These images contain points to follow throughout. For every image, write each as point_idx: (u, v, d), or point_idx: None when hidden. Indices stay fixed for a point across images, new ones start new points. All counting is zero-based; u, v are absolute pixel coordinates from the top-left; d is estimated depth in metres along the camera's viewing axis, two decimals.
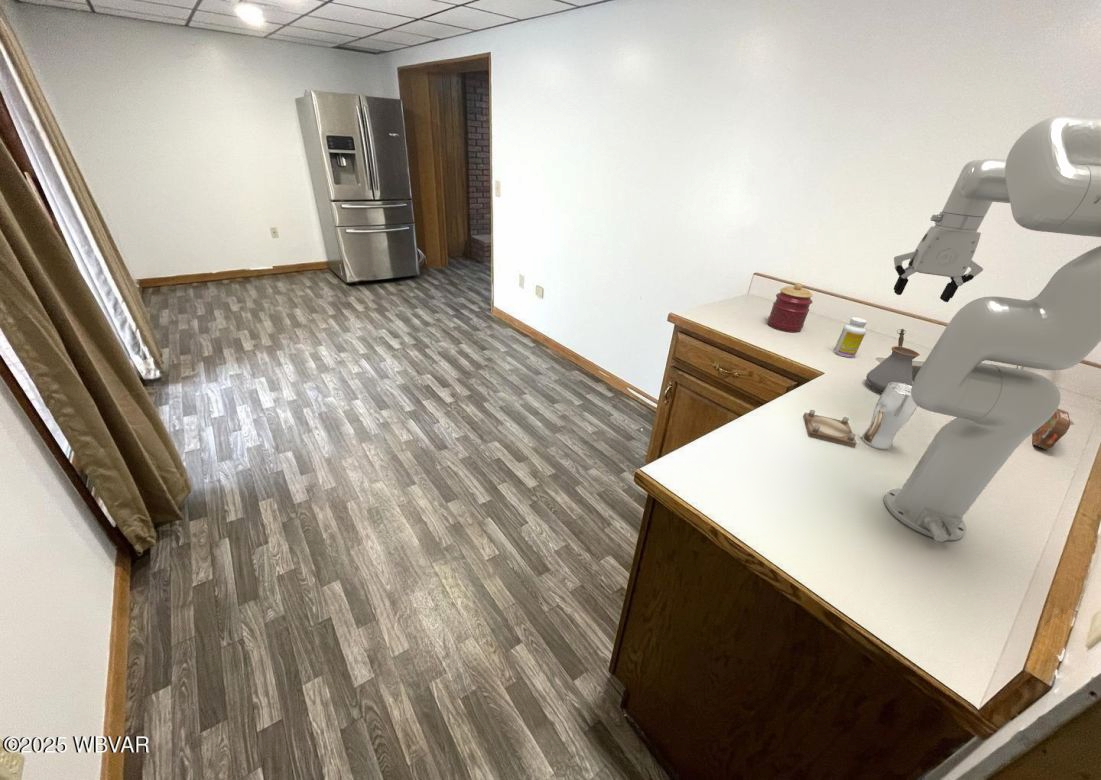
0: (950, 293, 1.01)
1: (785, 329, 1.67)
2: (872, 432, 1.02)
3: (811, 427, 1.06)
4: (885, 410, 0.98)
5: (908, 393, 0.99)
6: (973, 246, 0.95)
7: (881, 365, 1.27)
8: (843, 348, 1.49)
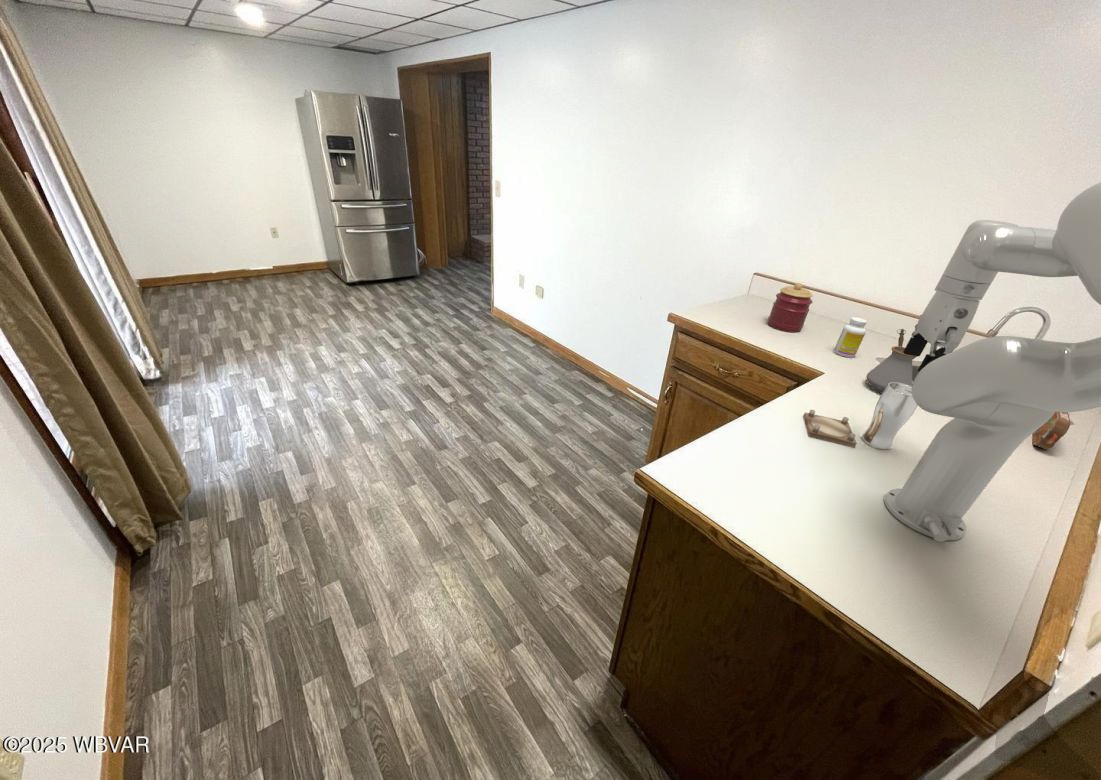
0: (923, 348, 0.96)
1: (785, 329, 1.67)
2: (872, 432, 1.02)
3: (811, 427, 1.06)
4: (885, 410, 0.98)
5: (908, 393, 0.99)
6: None
7: (881, 365, 1.27)
8: (843, 348, 1.49)
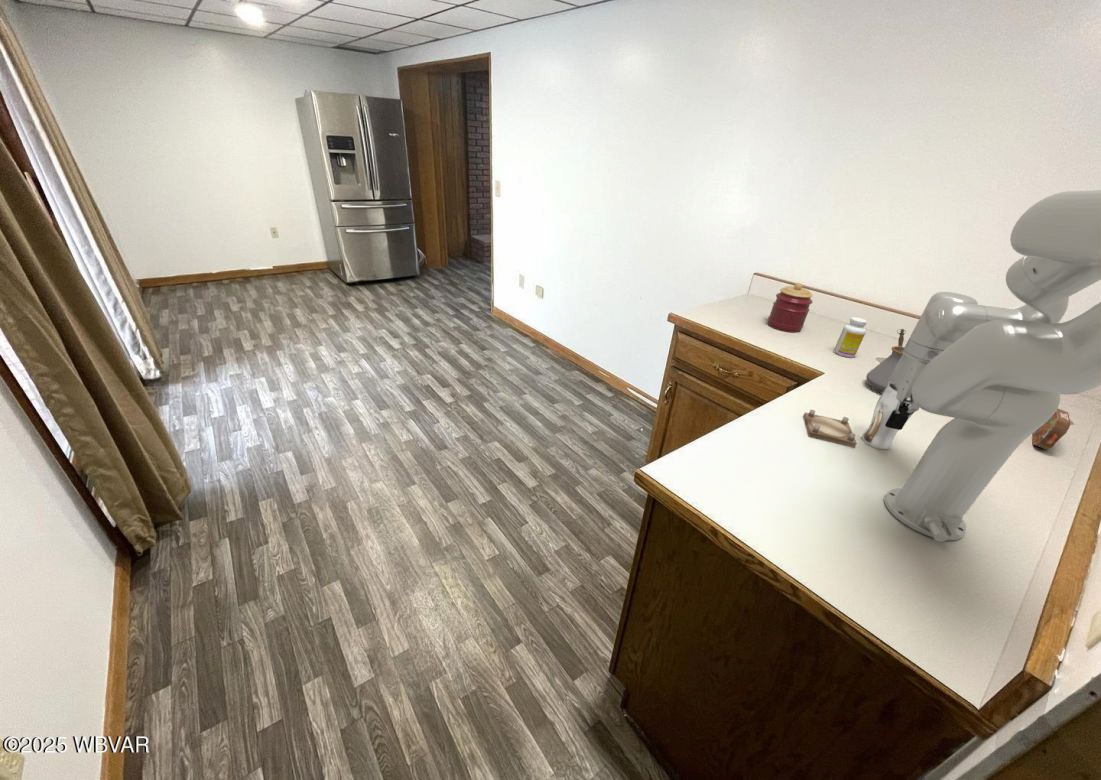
0: None
1: (785, 329, 1.67)
2: (872, 432, 1.02)
3: (811, 427, 1.06)
4: (885, 410, 0.98)
5: None
6: None
7: (881, 365, 1.27)
8: (843, 348, 1.49)
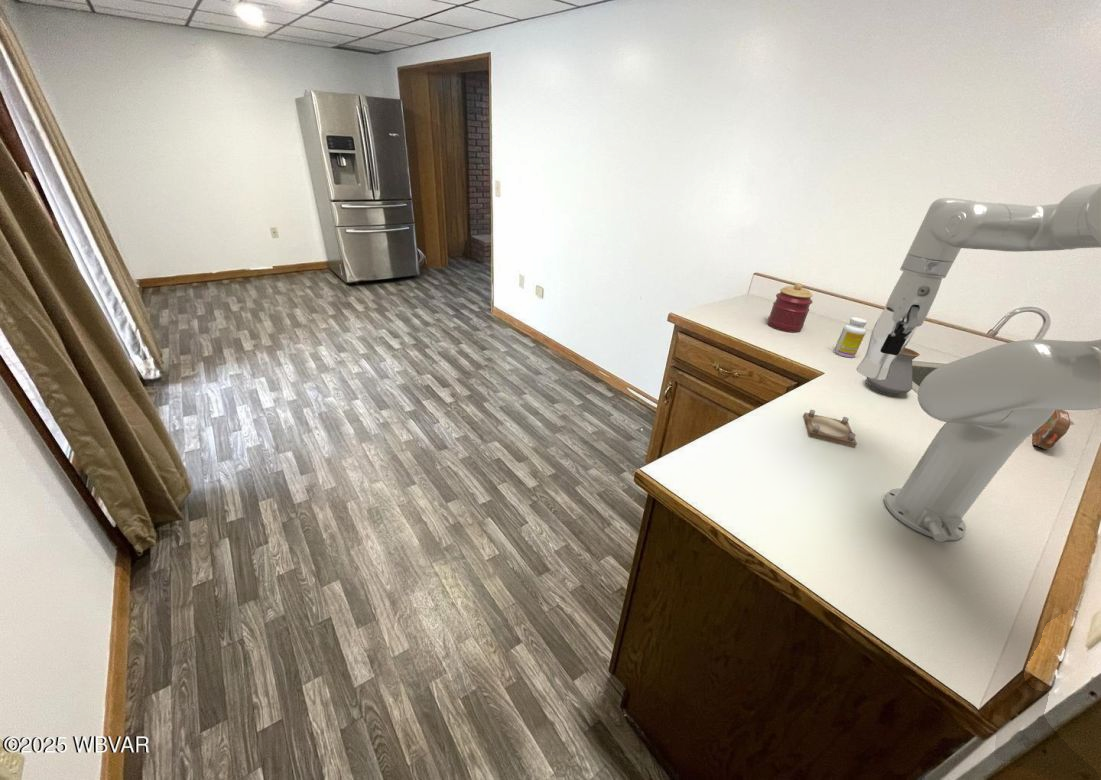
0: None
1: (785, 329, 1.67)
2: (867, 362, 0.96)
3: (811, 427, 1.06)
4: (881, 334, 0.92)
5: None
6: None
7: None
8: (843, 348, 1.49)
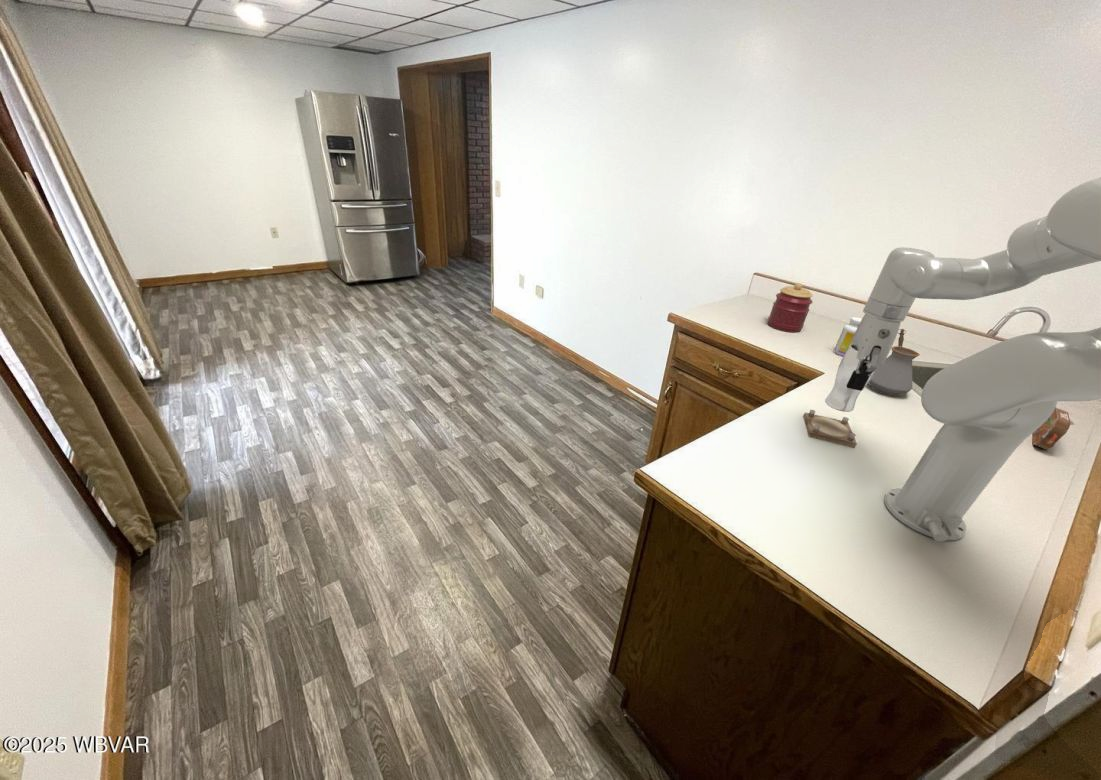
0: None
1: (785, 329, 1.67)
2: (835, 395, 1.02)
3: (811, 427, 1.06)
4: (846, 371, 0.98)
5: None
6: None
7: (881, 365, 1.27)
8: (843, 348, 1.49)
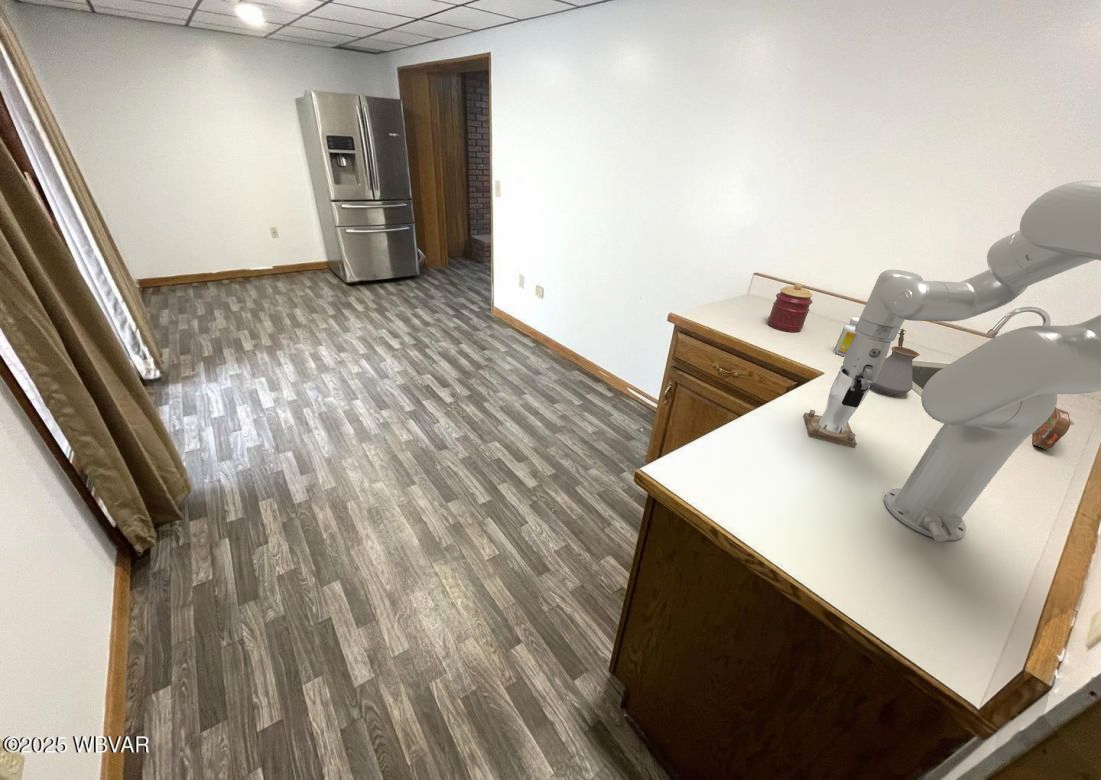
0: None
1: (785, 329, 1.67)
2: (826, 417, 1.04)
3: (811, 427, 1.06)
4: (837, 395, 1.00)
5: None
6: None
7: None
8: (843, 348, 1.49)
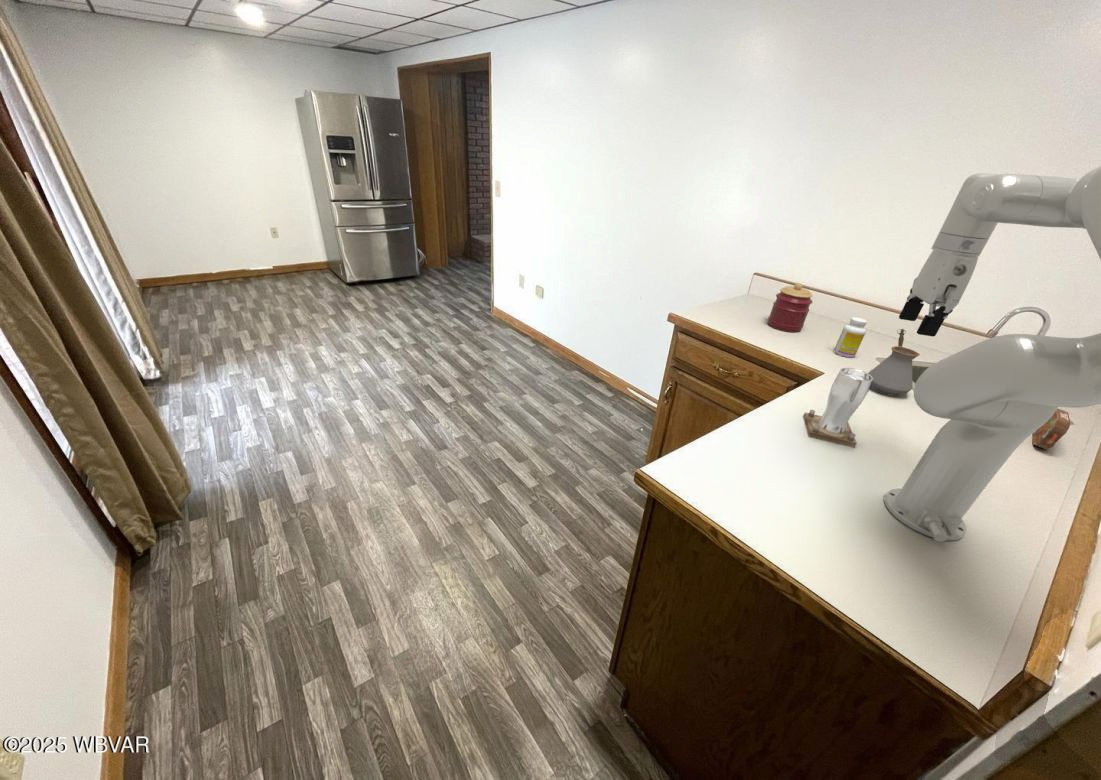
0: (919, 312, 0.95)
1: (785, 329, 1.67)
2: (826, 417, 1.04)
3: (811, 427, 1.06)
4: (837, 395, 1.00)
5: (860, 379, 1.01)
6: None
7: (881, 365, 1.27)
8: (843, 348, 1.49)
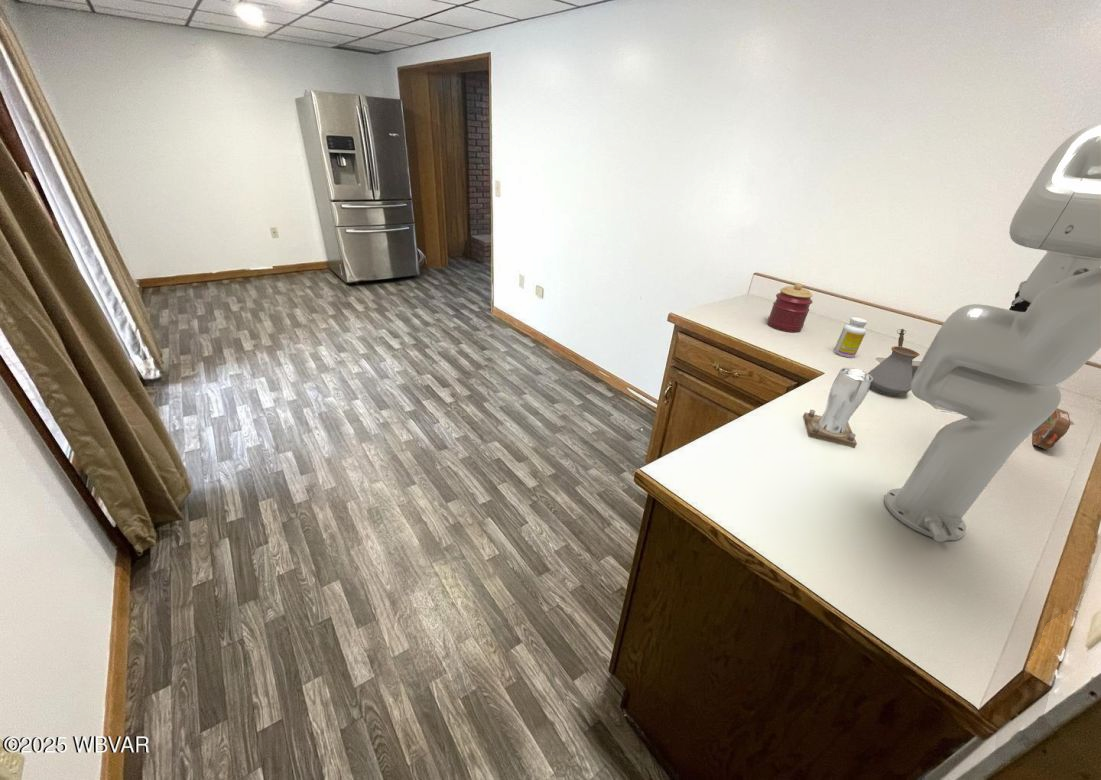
0: None
1: (785, 329, 1.67)
2: (826, 417, 1.04)
3: (811, 427, 1.06)
4: (837, 395, 1.00)
5: (860, 379, 1.01)
6: None
7: (881, 365, 1.27)
8: (843, 348, 1.49)
